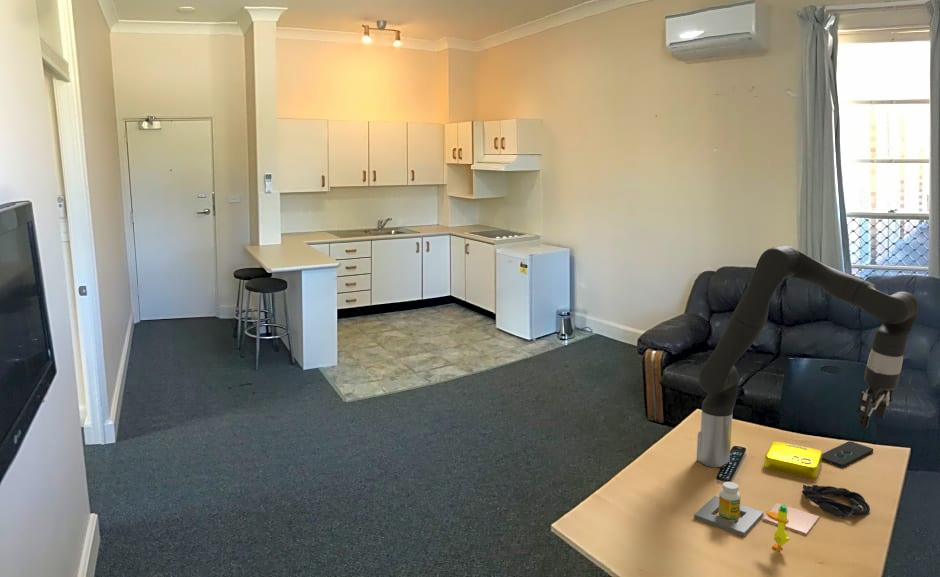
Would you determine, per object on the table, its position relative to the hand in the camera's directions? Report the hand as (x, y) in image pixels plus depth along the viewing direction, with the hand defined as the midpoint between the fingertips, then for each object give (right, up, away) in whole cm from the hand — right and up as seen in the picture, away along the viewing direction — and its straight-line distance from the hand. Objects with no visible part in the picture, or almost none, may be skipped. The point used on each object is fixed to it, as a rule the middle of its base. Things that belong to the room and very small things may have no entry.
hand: (870, 421), depth 178 cm
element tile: (-4, -21, +35) cm, 41 cm away
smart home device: (+16, -20, +40) cm, 48 cm away
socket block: (-36, -27, +4) cm, 45 cm away
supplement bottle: (-36, -27, +4) cm, 46 cm away
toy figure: (-30, -30, -10) cm, 43 cm away
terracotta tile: (-20, -27, +3) cm, 34 cm away
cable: (-4, -26, +11) cm, 28 cm away
